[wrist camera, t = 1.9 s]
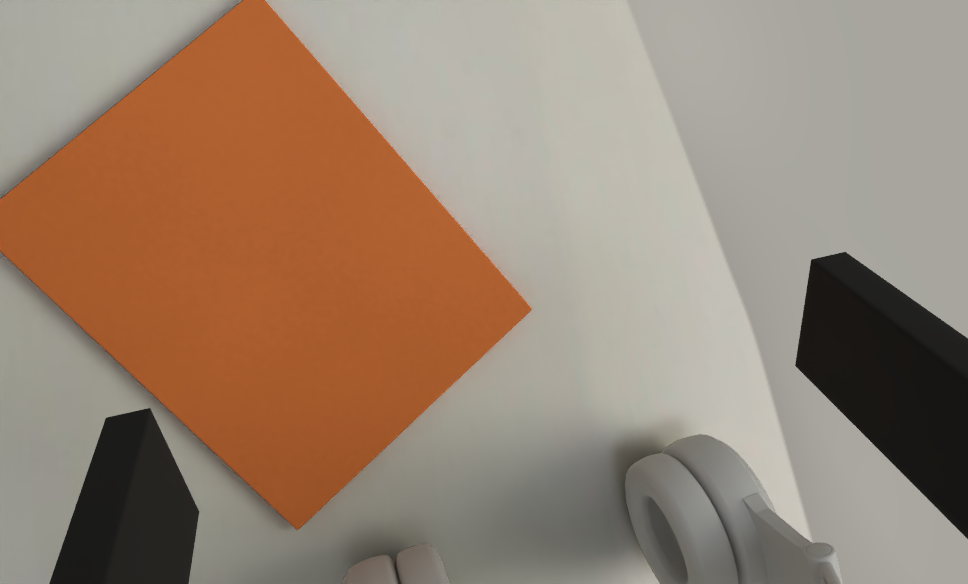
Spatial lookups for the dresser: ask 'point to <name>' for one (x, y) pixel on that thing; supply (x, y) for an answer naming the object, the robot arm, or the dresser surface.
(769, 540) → the headphones
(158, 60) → the dresser surface
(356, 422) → the orange rectangular board
